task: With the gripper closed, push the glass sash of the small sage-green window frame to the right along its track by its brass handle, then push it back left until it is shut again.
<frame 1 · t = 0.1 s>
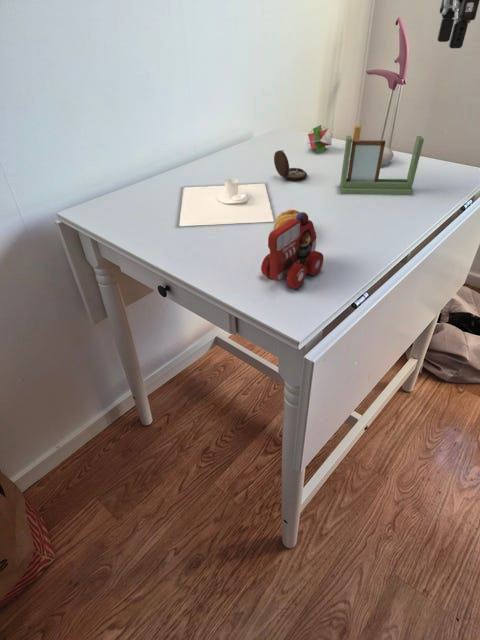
hand: (448, 44, 82), 29 cm above the table, tool pointing down, fingers open, 8 cm apart
window frame: (374, 190, 99), on the table
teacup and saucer: (225, 204, 96), on the table
compass: (289, 177, 107), on the table
sash: (366, 156, 95), point 8 cm above the table, slide at 0.0 cm
pastry: (292, 235, 85), on the table
geometric puzzle: (318, 151, 121), on the table
toy fire truck: (292, 274, 74), on the table
donut: (372, 162, 114), on the table
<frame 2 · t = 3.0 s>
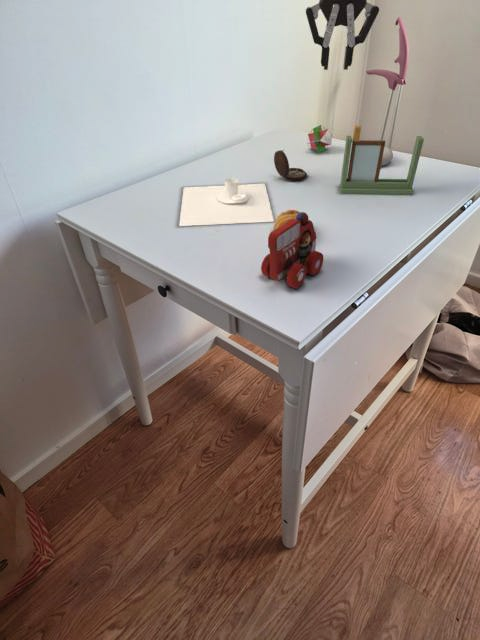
hand: (335, 68, 84), 25 cm above the table, tool pointing down, fingers open, 3 cm apart
nothing on the table moved.
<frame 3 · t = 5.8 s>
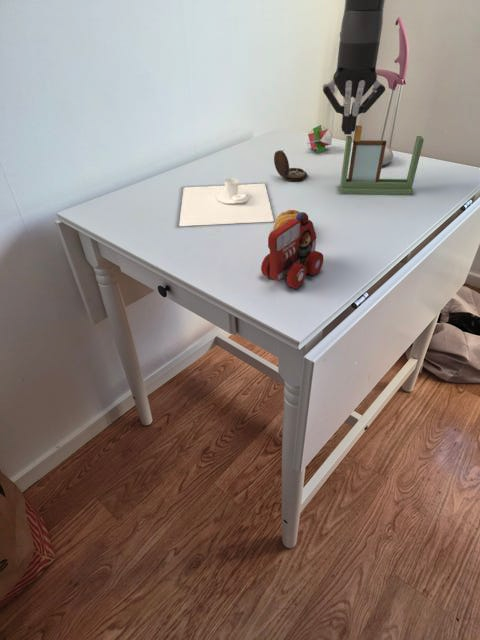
hand: (347, 133, 92), 13 cm above the table, tool pointing down, fingers closed
sash: (367, 156, 95), point 8 cm above the table, slide at 0.2 cm, touching gripper
everything else where it was.
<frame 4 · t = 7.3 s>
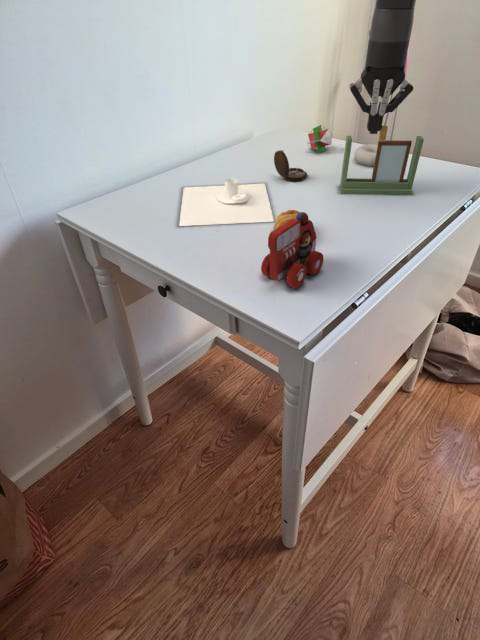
hand: (373, 132, 91), 13 cm above the table, tool pointing down, fingers closed
sash: (391, 157, 94), point 8 cm above the table, slide at 5.6 cm, touching gripper
everything else where it was.
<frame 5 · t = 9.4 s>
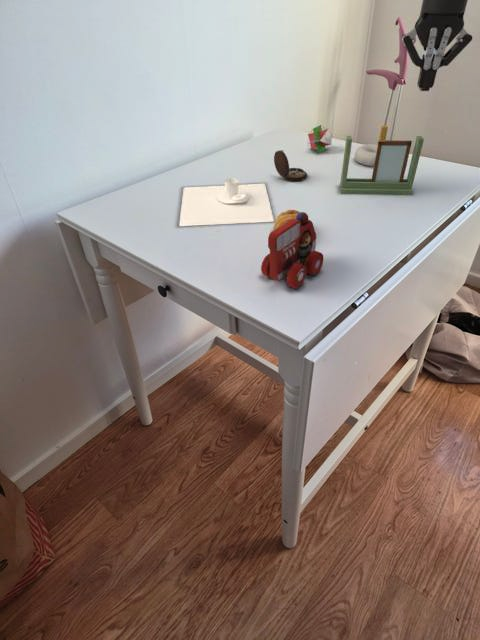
hand: (424, 90, 85), 21 cm above the table, tool pointing down, fingers closed
sash: (391, 157, 94), point 8 cm above the table, slide at 5.6 cm
everything else where it was.
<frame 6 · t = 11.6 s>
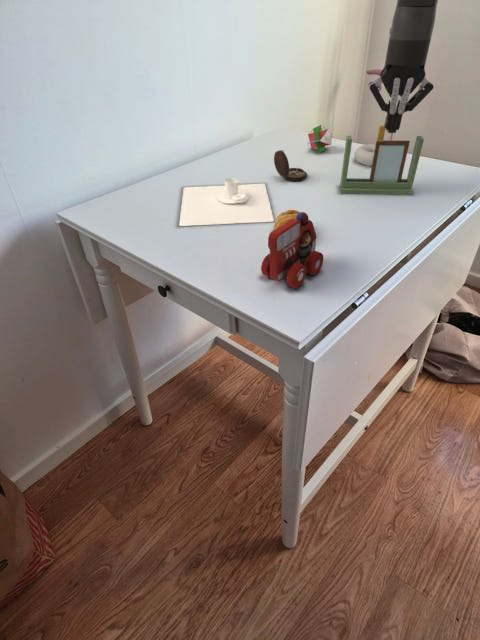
hand: (391, 131, 91), 13 cm above the table, tool pointing down, fingers closed
sash: (389, 157, 94), point 8 cm above the table, slide at 5.1 cm, touching gripper
everything else where it was.
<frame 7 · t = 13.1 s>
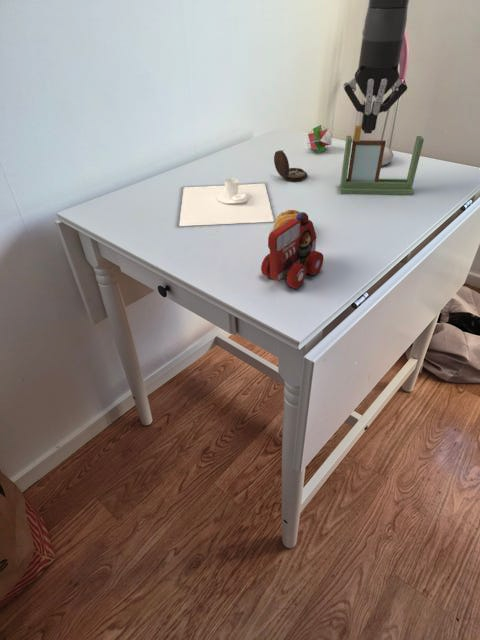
hand: (367, 132, 91), 13 cm above the table, tool pointing down, fingers closed
sash: (366, 156, 95), point 8 cm above the table, slide at 0.1 cm, touching gripper
everything else where it was.
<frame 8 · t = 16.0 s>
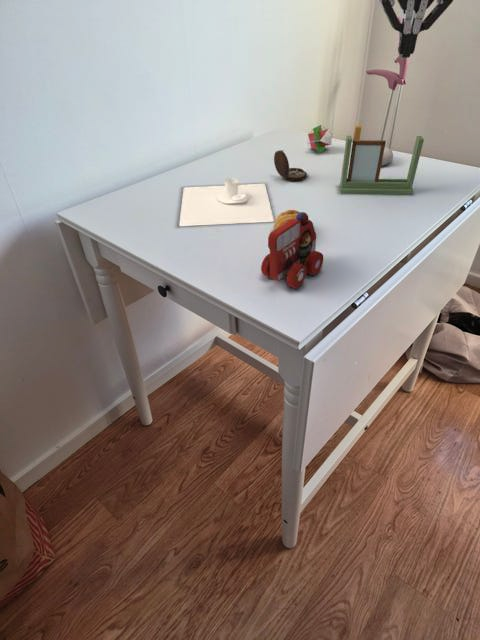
hand: (404, 56, 82), 27 cm above the table, tool pointing down, fingers closed
sash: (366, 156, 95), point 8 cm above the table, slide at 0.1 cm
everything else where it was.
at the end: sash pulled out 5.6 cm at the most during the clip, back to where it started at the end; sash slide at 0.1 cm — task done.
